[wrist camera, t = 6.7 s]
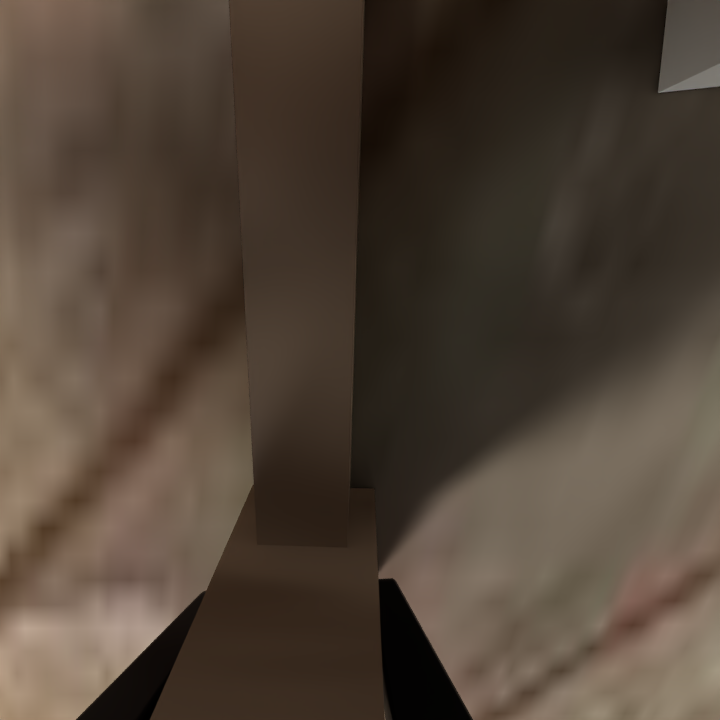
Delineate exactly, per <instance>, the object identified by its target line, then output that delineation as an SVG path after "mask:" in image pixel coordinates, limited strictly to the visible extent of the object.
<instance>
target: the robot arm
mask: <svg viewBox="0 0 720 720" xmlns="http://www.w3.org/2000/svg"><path fill="white" fill-rule="evenodd" d="M378 582H379V604H380V627H381V650H382V673H383V696H384V712H385V719H386V720H473V719H472V717H471V715H470V714H469V712H468V710H467V708H466V706H465V705H464V703H463V701H462V699H461V697H460V696H459V694H458V692H457V690H456V688H455V687H454V685H453V683H452V681H451V679H450V678H449V676H448V674H447V672H446V670H445V669H444V667H443V665H442V663H441V661H440V660H439V658H438V656H437V654H436V652H435V651H434V649H433V647H432V645H431V643H430V642H429V640H428V638H427V636H426V634H425V632H424V631H423V629H422V627H421V625H420V623H419V622H418V620H417V618H416V616H415V614H414V613H413V611H412V609H411V607H410V605H409V604H408V602H407V600H406V598H405V596H404V595H403V593H402V591H401V589H400V587H399V586H398V584H397V582H396V581H395V580H394V579H393V578H389V579H378ZM205 593H206V591H204V592H202V593H201V594H200V595H199V596H198V597H197V598H196V599H195V600H194V601H193V602H192V603H191V604H190V605H189V606H188V607H187V608H186V609H185V610H184V611H183V612H182V613H181V614H180V615H179V616H178V617H177V618H176V619H175V620H174V621H173V622H172V623H171V624H170V625H169V626H168V627H167V628H166V629H165V630H164V631H163V632H162V633H161V634H160V635H159V636H158V637H157V638H156V639H155V640H154V641H153V642H152V643H151V644H150V645H149V646H148V647H147V648H146V649H145V650H144V651H143V652H142V653H141V654H140V655H139V656H138V657H137V658H136V659H135V660H134V661H133V662H132V663H131V665H130V666H129V667H128V668H127V669H126V670H125V671H124V672H123V673H122V674H121V675H120V676H119V677H118V678H117V679H116V680H115V681H114V682H113V683H112V684H111V685H110V686H109V687H108V688H107V689H106V690H105V691H104V692H103V693H102V694H101V695H100V696H99V697H98V698H97V699H96V700H95V701H94V702H93V703H92V704H91V705H90V706H89V707H88V708H87V709H86V710H85V711H84V712H83V713H82V714H81V715H80V716H79V717H78V718H77V719H76V720H150V718H151V716H152V714H153V711H154V709H155V707H156V704H157V702H158V700H159V698H160V695H161V693H162V691H163V689H164V686H165V684H166V682H167V679H168V677H169V675H170V673H171V670H172V668H173V666H174V663H175V661H176V659H177V657H178V654H179V652H180V650H181V648H182V645H183V643H184V641H185V638H186V636H187V634H188V632H189V629H190V627H191V625H192V622H193V620H194V618H195V616H196V613H197V611H198V609H199V607H200V604H201V602H202V600H203V597H204V595H205Z"/></svg>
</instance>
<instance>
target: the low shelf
mask: <svg viewBox="0 0 720 720" xmlns="http://www.w3.org/2000/svg"><path fill="white" fill-rule="evenodd" d="M719 86H720V0H668V5H667V14H666V23H665V32H664V41H663V50H662V60H661V69H660V78H659V87H658V93H662V92H671V91H681V90H690V89H700V88H709V87H719Z"/></svg>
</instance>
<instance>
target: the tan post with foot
mask: <svg viewBox="0 0 720 720" xmlns="http://www.w3.org/2000/svg"><path fill="white" fill-rule="evenodd" d="M229 9H230V28H231V47H232V67H233V86H234V106H235V125H236V144H237V164H238V183H239V203H240V222H241V241H242V261H243V280H244V300H245V319H246V338H247V358H248V377H249V397H250V416H251V436H252V455H253V474H254V485H253V486H252V488H251V490H250V493H249V495H248V497H247V500H246V502H245V504H244V506H243V509H242V511H241V513H240V515H239V518H238V520H237V522H236V525H235V527H234V529H233V531H232V534H231V536H230V538H229V541H228V543H227V545H226V547H225V550H224V552H223V554H222V556H221V559H220V561H219V563H218V566H217V568H216V570H215V572H214V575H213V577H212V579H211V582H210V584H209V586H208V588H207V591H206V593H205V595H204V597H203V600H202V602H201V604H200V607H199V609H198V611H197V613H196V616H195V618H194V620H193V622H192V625H191V627H190V629H189V632H188V634H187V636H186V638H185V641H184V643H183V645H182V648H181V650H180V652H179V654H178V657H177V659H176V661H175V663H174V666H173V668H172V670H171V673H170V675H169V677H168V679H167V682H166V684H165V686H164V689H163V691H162V693H161V695H160V698H159V700H158V702H157V704H156V707H155V709H154V711H153V714H152V716H151V718H150V720H385V718H384V696H383V673H382V650H381V627H380V604H379V582H378V559H377V536H376V513H375V491H374V489H369V488H350V476H351V443H352V410H353V376H354V343H355V310H356V276H357V243H358V210H359V176H360V143H361V110H362V76H363V43H364V10H365V0H229Z"/></svg>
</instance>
